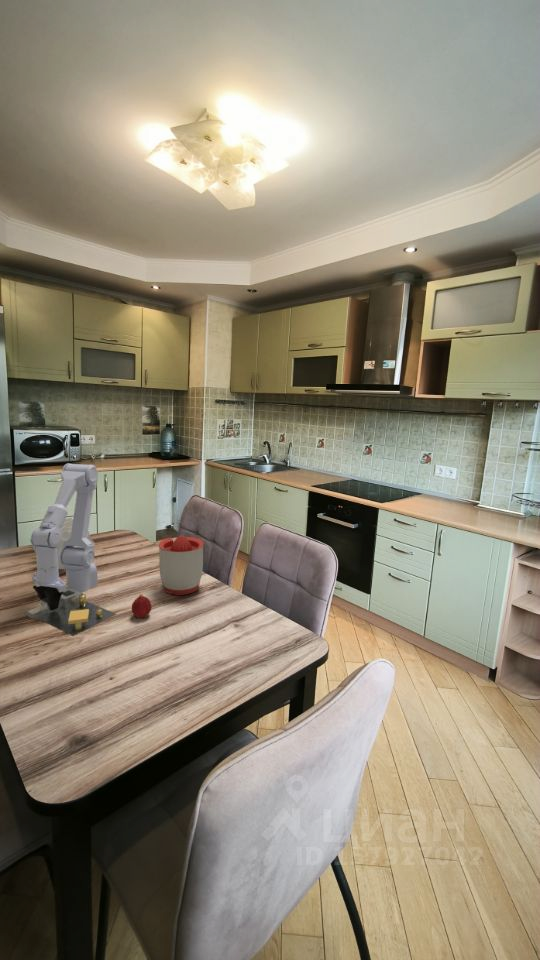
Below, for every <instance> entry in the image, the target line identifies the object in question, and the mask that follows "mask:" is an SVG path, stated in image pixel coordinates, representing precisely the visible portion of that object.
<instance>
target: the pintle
mask: <svg viewBox="0 0 540 960" xmlns="http://www.w3.org/2000/svg"><path fill="white" fill-rule="evenodd" d="M86 595H87V594H85V593H82V594H81V595H79V607H85V606H86V601H87V596H86Z"/></svg>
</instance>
